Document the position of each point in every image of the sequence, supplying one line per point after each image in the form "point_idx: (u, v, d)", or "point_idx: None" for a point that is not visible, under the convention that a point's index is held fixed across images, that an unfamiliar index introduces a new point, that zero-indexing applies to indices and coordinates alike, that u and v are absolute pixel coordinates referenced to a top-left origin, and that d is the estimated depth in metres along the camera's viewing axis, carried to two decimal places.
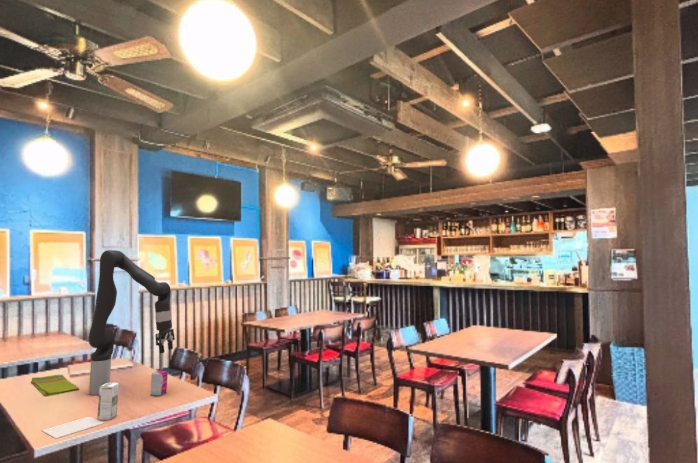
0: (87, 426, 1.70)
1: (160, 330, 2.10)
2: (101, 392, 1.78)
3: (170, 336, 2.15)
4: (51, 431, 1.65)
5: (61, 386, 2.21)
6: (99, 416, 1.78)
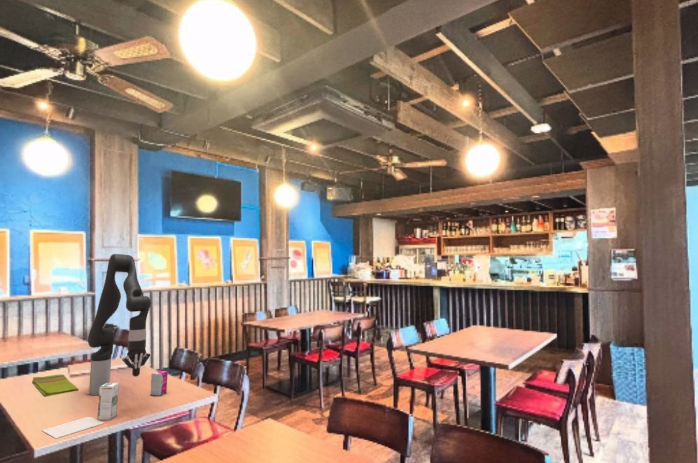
0: (87, 426, 1.70)
1: (128, 350, 1.89)
2: (101, 392, 1.78)
3: (139, 358, 1.92)
4: (51, 431, 1.65)
5: (61, 386, 2.21)
6: (99, 416, 1.78)
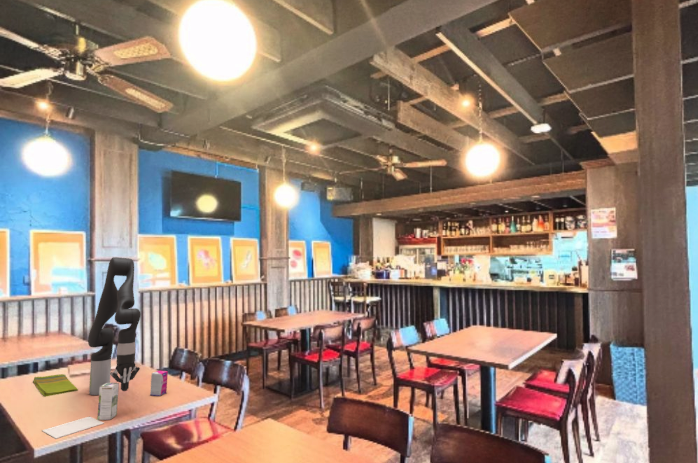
0: (87, 426, 1.70)
1: (117, 364, 1.85)
2: (101, 392, 1.78)
3: (128, 372, 1.87)
4: (51, 431, 1.65)
5: (61, 386, 2.21)
6: (99, 416, 1.78)
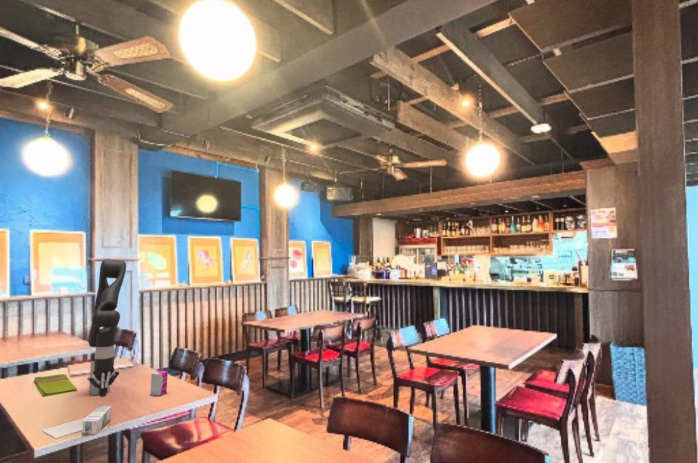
0: None
1: (95, 369, 1.77)
2: None
3: (107, 377, 1.79)
4: (51, 431, 1.65)
5: (61, 386, 2.21)
6: None
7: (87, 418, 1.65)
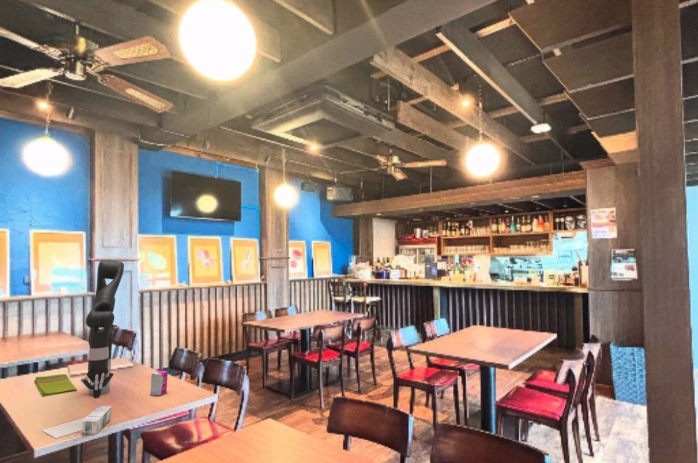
0: None
1: (88, 370, 1.75)
2: None
3: (101, 379, 1.77)
4: (51, 431, 1.65)
5: (60, 386, 2.21)
6: None
7: (87, 418, 1.65)
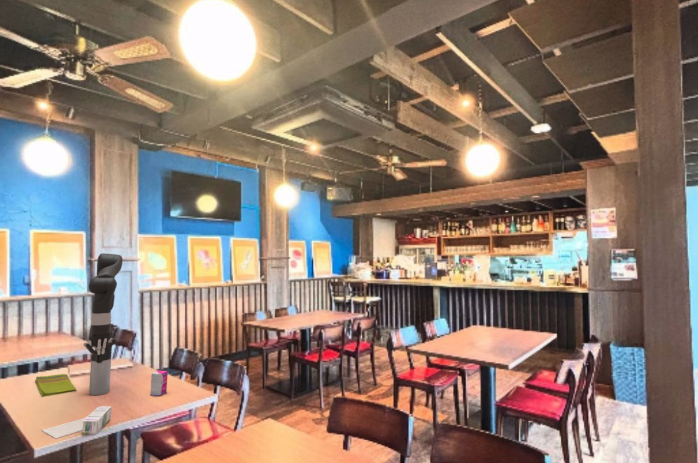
0: None
1: (91, 335, 1.76)
2: None
3: (103, 344, 1.79)
4: (51, 431, 1.65)
5: (60, 386, 2.21)
6: None
7: (87, 418, 1.65)
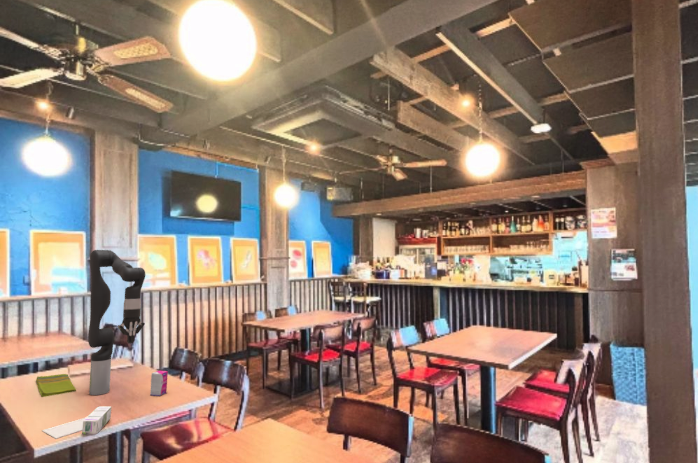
0: None
1: (124, 318, 1.99)
2: None
3: (134, 326, 2.01)
4: (51, 431, 1.65)
5: (60, 386, 2.21)
6: None
7: (87, 418, 1.65)
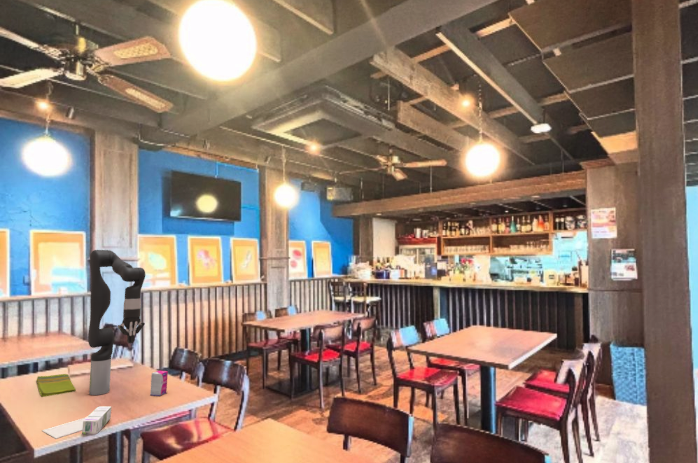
0: None
1: (124, 318, 1.99)
2: None
3: (134, 326, 2.01)
4: (51, 431, 1.65)
5: (60, 386, 2.21)
6: None
7: (87, 418, 1.65)
